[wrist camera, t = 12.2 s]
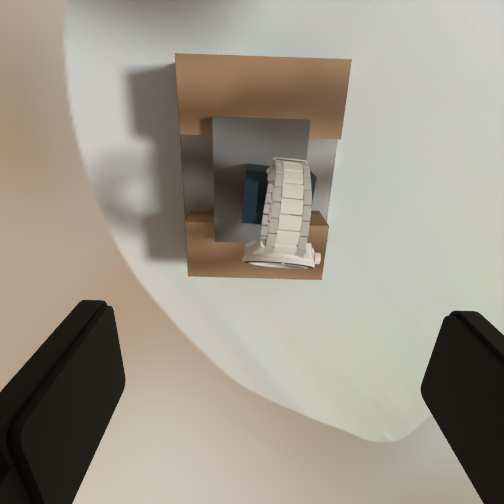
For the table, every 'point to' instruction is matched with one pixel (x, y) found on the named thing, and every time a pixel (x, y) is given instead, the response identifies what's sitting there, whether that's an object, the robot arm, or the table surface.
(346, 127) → the table surface
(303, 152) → the watch stand
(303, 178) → the watch
